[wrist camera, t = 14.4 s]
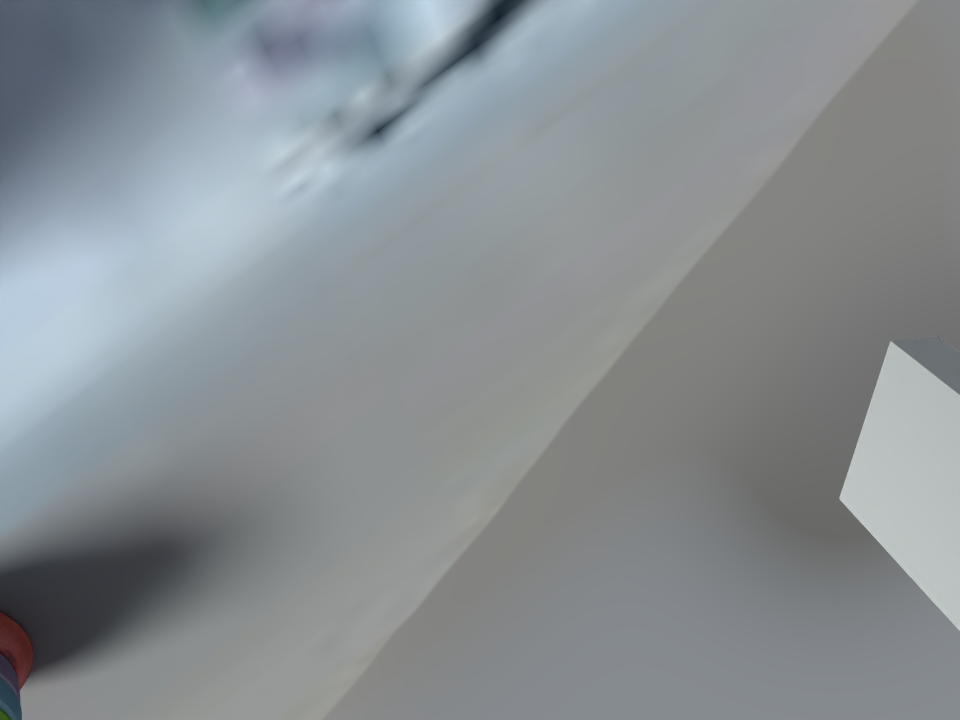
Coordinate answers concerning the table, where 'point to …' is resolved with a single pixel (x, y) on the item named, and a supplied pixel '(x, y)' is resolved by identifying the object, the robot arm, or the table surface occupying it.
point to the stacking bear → (13, 666)
